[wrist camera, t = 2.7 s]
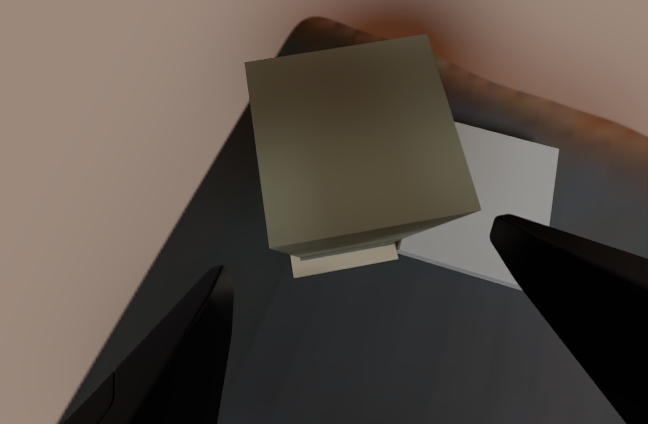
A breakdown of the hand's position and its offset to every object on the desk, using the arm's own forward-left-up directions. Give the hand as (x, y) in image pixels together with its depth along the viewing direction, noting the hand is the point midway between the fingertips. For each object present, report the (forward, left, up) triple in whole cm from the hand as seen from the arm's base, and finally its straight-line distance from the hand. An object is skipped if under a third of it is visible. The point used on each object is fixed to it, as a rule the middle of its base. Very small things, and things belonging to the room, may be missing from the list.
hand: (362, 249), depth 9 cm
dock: (-8, -7, -10) cm, 14 cm away
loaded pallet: (+1, -3, -10) cm, 11 cm away
